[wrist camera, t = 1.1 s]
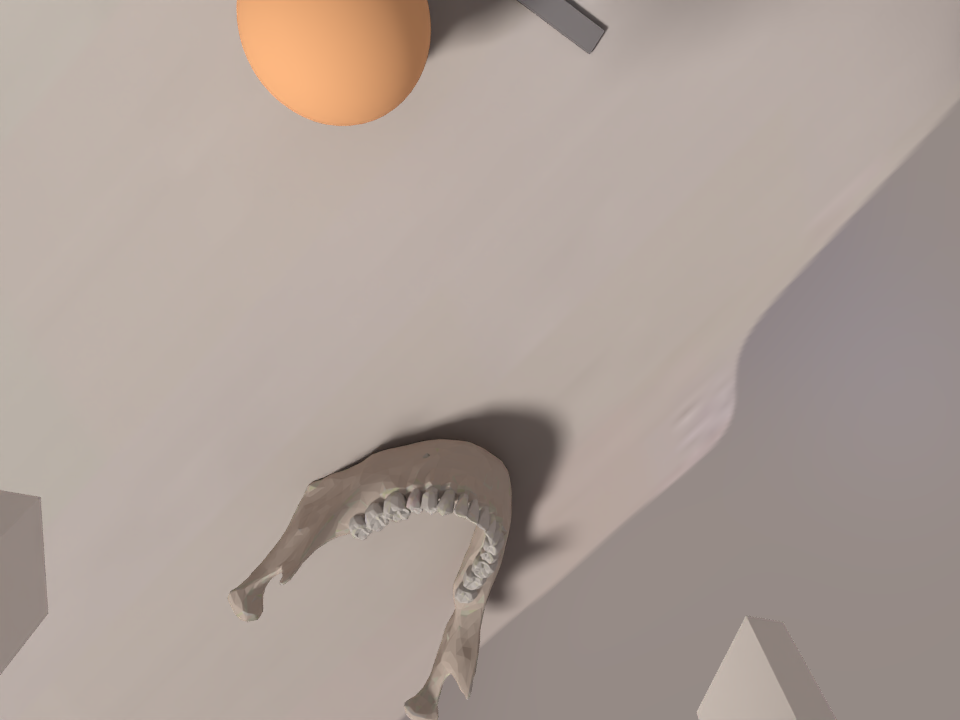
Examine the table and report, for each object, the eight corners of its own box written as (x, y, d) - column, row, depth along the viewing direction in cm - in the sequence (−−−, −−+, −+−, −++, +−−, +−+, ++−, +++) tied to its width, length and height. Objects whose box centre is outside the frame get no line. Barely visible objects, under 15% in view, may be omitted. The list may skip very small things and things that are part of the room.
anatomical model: (591, 510, 35) (561, 704, 28) (472, 565, 42) (424, 731, 35) (397, 371, 32) (307, 552, 24) (303, 456, 39) (211, 616, 31)
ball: (241, 57, 24) (172, 55, 19) (316, -109, 22) (263, -166, 17) (384, 150, 25) (358, 174, 20) (467, 2, 23) (465, -17, 18)
